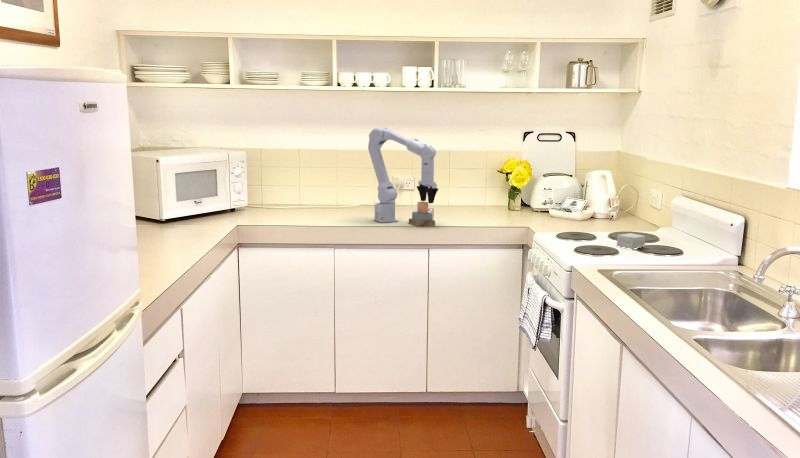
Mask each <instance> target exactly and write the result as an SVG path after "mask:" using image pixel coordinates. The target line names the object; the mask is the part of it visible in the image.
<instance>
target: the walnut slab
mask: <svg viewBox="0 0 800 458" xmlns="http://www.w3.org/2000/svg"><path fill="white" fill-rule="evenodd" d="M408 224H409V225H411V226H413V227H416V228H422V227H423V228H424V227H426V228H427V227H434V226H436V220H435V219H432V220H429V221H416V220H414V219H412V218H408Z"/></svg>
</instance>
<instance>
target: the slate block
mask: <svg viewBox="0 0 800 458" xmlns="http://www.w3.org/2000/svg"><path fill="white" fill-rule="evenodd" d="M411 219H414V220H416V221H429V220H433V219H432V214H431V213H428V214H418V213H417V212H413V211H412V213H411Z"/></svg>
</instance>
